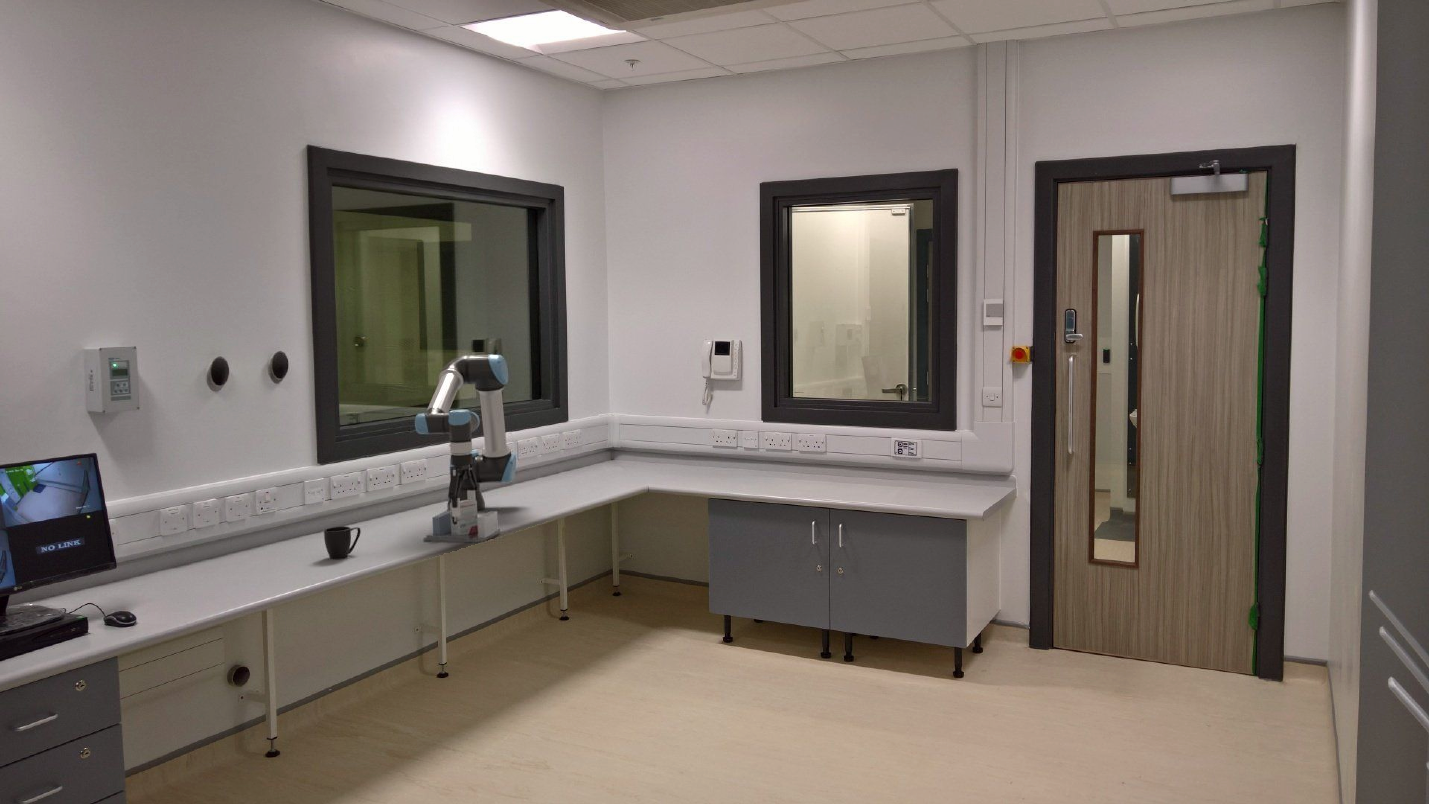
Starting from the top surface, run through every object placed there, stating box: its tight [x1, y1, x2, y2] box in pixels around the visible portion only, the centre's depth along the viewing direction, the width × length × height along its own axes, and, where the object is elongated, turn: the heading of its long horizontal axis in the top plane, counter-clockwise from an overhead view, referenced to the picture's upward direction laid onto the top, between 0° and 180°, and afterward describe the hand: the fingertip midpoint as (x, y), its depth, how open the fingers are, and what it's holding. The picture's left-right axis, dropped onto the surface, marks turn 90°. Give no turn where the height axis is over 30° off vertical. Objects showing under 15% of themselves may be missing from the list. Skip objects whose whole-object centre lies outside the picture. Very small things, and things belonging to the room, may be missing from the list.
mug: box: [323, 526, 361, 560], centre depth 332 cm, size 8×12×10 cm
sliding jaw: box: [431, 510, 451, 535], centre depth 359 cm, size 12×2×7 cm, turn 170°
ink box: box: [450, 499, 478, 535], centre depth 358 cm, size 9×5×12 cm, turn 141°
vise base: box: [422, 510, 501, 543], centre depth 358 cm, size 16×22×8 cm
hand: (464, 512), depth 358 cm, fingers open, 13 cm apart
